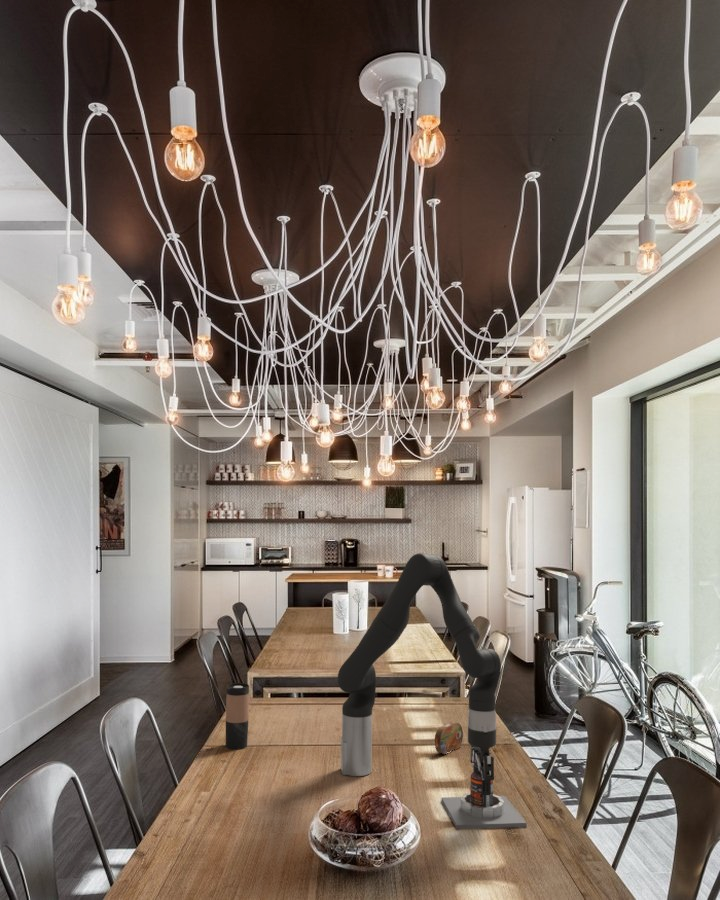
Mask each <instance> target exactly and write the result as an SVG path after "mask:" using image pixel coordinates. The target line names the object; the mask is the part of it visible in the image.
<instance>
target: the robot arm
mask: <svg viewBox="0 0 720 900" xmlns="http://www.w3.org/2000/svg"><path fill="white" fill-rule="evenodd" d="M423 586H428V587H431V588H432V589H433V590H434V592H435V593H436V595H437V597H438V598H439V601H440V603H441V608H442V617H443V621H444V624H445V626H446V629H447V630H448V632H449V634H450V636H451V637H452V639H453V641H454V642H455V644H456V648H457V652H458V656H459V659H460V663H461V666H462V668H463V670H464V671H465V673H466V674H467V675H469V677H471V678H474V679H477V680H476V681H477V682H476V683H474V684H473V685H472V686H470V688H469V689H468V713H467V743H468V744H469V746H470V759H469V760H470V763H471V767H472V773H473V772H474V765H475V764H478V770H479V771H480V772H481V778H482V794H483V795H490V794H491V780H493V781H495V767H494V766H495V762H494V761H495V760H494V759H495V758H494V755H492V754H491V752H490V749H491V748H494V747H495V746H496V745H497V714H496V691H497V688H498V685H499V681H500V676H501V670H502V661H501V658H500V656H499V653H497V651H496V650H495V649H492V648H482V649H478V648H477V645H476V644H477V643H478V642H479V641H480V638H481V636H480V632H479V631H478V629H477V627H476V626H475V623H474V622H473V620H472V619H471V617H470V616H469V613H468V611H466V610H467V609H466V608H465V606H464V605H463V603H462V601H461V598H460V596H459V594H458V591H457V588H456V587H455V583H454V581H453V579H452V577H451V574H450V571H449V569H448V566H447V564H446V562H445V561H444V559H443V558H442V557H440V556H439V555H437V554H433V553H432V554H431V553H424V552H420V553H419V552H418V553H415V554H413V555H412V556H411V557H410V558H409V559H408V561H407V562H406V564H405V566H404V568H403V570H402V572H401V574H400V576H399V578H398V580H397V582H396V584H395V586H394V588H393V589H392V591H391V593H390V594H389V596H388V598H387V599H386V601H385V602H384V603H383V605H382V607H381V608H380V609H379V611H378V612H377V614H376V616H375V618H374V619H373V620H372V622H371V624H370V626H369V627H368V628H367V631H366V632H365V633H364V635H363V636H362V638H361V640H360V641H359V643H358V645H357V646H356V648H355V649H354V650H353V651H352V652H351V654H350V655H349V656H348V657H347V659H346V660H345V661H344V662H343V664H342V665H341V667H340V668H339V670H338V673H337V684H338V685H337V686H338V687H339V689H340V690H341V691H342V692H345V693H347V694H349V695H348V697H347V699H346V700H345V701H344V703H343V704H342V711H341V712H342V713H341V714H342V716H341V717H342V718H341V737H340V739H341V740H340V769H341V775H343V776H345V775H346V776H351V777H362V776H368V775H369V774H371V773H372V766H373V765H372V764H373V763H372V757H373V756H372V751H373V749H372V746H373V738H372V737H373V708H374V706H375V703H376V702H375V701H376V688H377V674H376V670H375V667H374V663H375V662H376V661H377V660H378V659H379V658H381V656H383V654H385V653H386V652H387V651H388V650H389V649H391V648H392V646H393V645H395V643H397V642H398V640H399V638H400V637H401V636H402V634H403V632H404V631H405V629H406V628H407V626H408V624H409V620H410V612H411V611H410V610H411V604H412V601H413V600H414V598H415V596H416V595H417V593H418V592H419V591H420V590H421V588H422V587H423ZM486 772H488V775H487V774H486Z"/></svg>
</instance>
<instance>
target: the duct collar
mask: <svg viewBox="0 0 720 900" xmlns="http://www.w3.org/2000/svg"><path fill="white" fill-rule="evenodd" d="M499 796H500V795H497V794H494V793H493V806H490V807H481V806H476V805H472V804H470V792H468V793H467V792H466V793H464V794H463V795H462V796H460V797H461V810H462V811H463V813H465V814H467V815H470V816H472V817H478V818H495V817H498V816H501V815H502V814H503V812H504V801H503V799H502V798H501V797H499Z"/></svg>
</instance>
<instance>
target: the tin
mask: <svg viewBox="0 0 720 900" xmlns="http://www.w3.org/2000/svg"><path fill="white" fill-rule="evenodd" d="M463 737H464V733H463V726H462V725H461V724H460V723H459V722H449V723H447V724H445V725H443V726H440V727H438V729H437V730H436V731H435V734H434V746H435V747H434V748H435V750H436V752H437V753H438V754H441V753H442V754H443V755H445V754H446V753H447V752H450V751H452V750H454V749H456V750H459V748H460V747H461V745H462V743H463ZM454 751H455V750H454ZM452 752H453V751H452ZM450 753H451V752H450ZM446 755H447V754H446Z"/></svg>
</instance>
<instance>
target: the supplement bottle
mask: <svg viewBox="0 0 720 900" xmlns="http://www.w3.org/2000/svg"><path fill="white" fill-rule="evenodd" d="M486 774H487V775H488V772H486ZM469 781H470V783H469V784H470V787H469V788H470V792H469V793H470V804H472V805H476V806H481V807H490V806H493V794H494V780H491V794H490V795H483V794H482V778H481V772H480V771H479V770H478V764H475V765H474V772H473V771H472V772H471V773H470V780H469Z"/></svg>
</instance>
